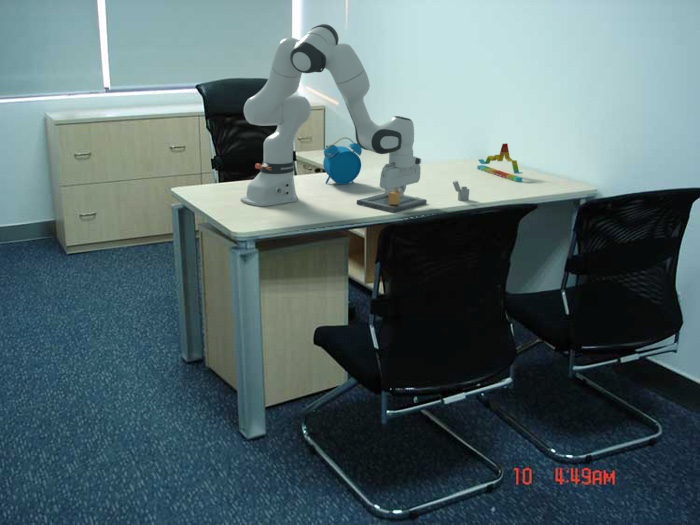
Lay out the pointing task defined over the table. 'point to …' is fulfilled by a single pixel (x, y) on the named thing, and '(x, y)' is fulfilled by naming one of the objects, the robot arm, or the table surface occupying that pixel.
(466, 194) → the lighter
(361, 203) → the dark grey tray
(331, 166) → the alarm clock
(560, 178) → the table surface
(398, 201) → the orange wooden block
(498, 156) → the chart
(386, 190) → the white small block
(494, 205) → the table surface
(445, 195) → the table surface
